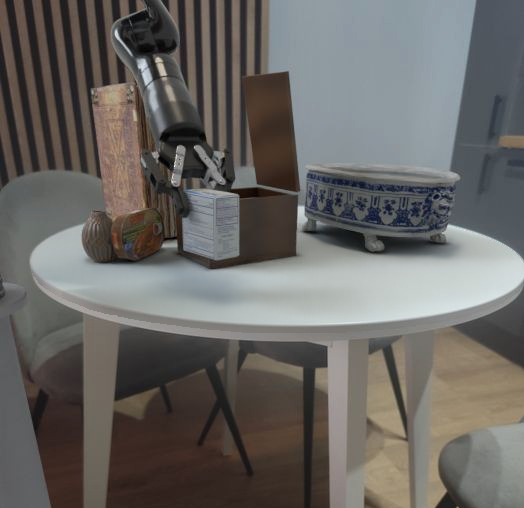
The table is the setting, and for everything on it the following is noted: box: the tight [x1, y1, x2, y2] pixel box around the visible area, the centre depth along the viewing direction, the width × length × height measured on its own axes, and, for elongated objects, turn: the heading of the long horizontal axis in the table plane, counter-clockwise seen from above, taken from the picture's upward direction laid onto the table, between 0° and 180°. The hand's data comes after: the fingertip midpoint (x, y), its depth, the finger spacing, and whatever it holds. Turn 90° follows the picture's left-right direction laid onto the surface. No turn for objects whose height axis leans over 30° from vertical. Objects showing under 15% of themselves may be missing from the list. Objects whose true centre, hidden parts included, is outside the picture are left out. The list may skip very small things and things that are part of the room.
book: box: [90, 81, 185, 239], centre depth 110 cm, size 25×9×30 cm, turn 35°
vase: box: [81, 209, 118, 263], centre depth 91 cm, size 7×7×9 cm
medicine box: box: [182, 188, 239, 260], centre depth 70 cm, size 8×4×9 cm, turn 43°
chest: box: [175, 186, 299, 270], centre depth 95 cm, size 19×14×11 cm
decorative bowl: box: [302, 162, 461, 253], centre depth 109 cm, size 42×27×15 cm, turn 32°
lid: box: [241, 70, 301, 193], centre depth 92 cm, size 20×14×1 cm
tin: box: [111, 208, 165, 262], centre depth 94 cm, size 15×3×8 cm, turn 161°
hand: (206, 212), depth 70 cm, fingers closed on medicine box, 5 cm apart
